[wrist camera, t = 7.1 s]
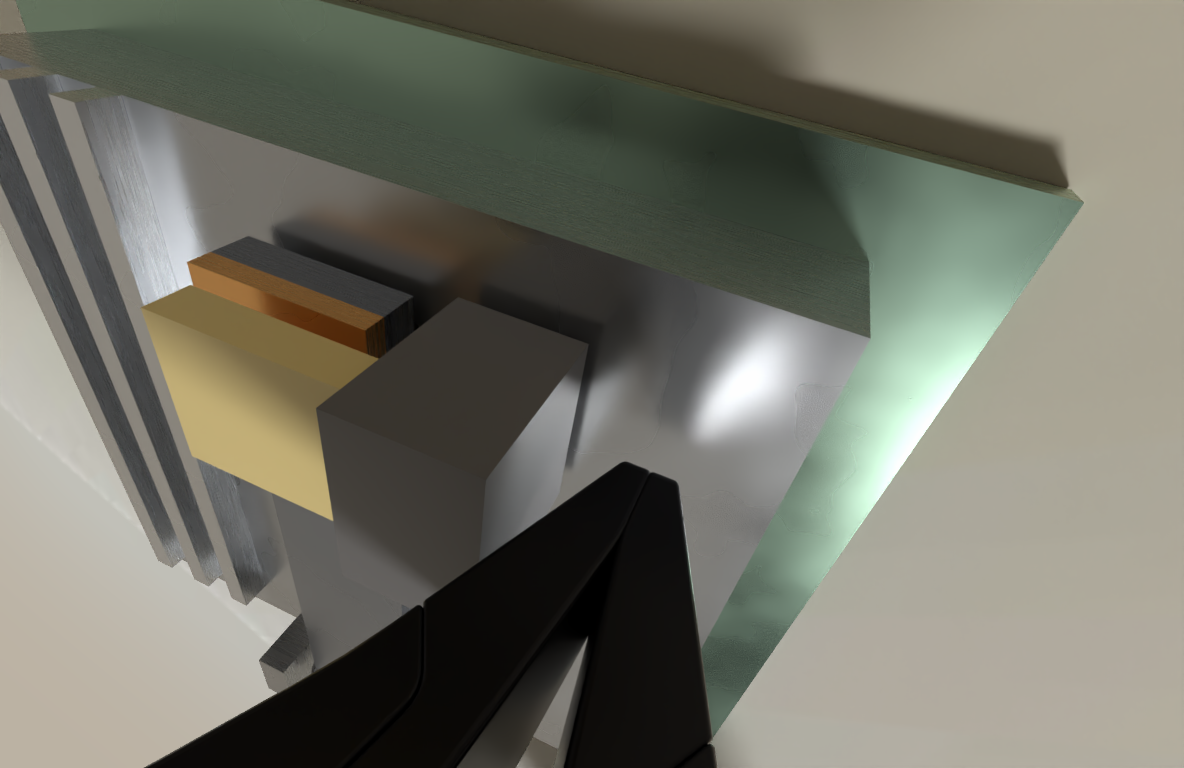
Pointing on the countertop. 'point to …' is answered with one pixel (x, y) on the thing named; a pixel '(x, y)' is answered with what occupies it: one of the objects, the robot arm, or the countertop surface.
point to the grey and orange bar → (352, 319)
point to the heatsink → (513, 268)
